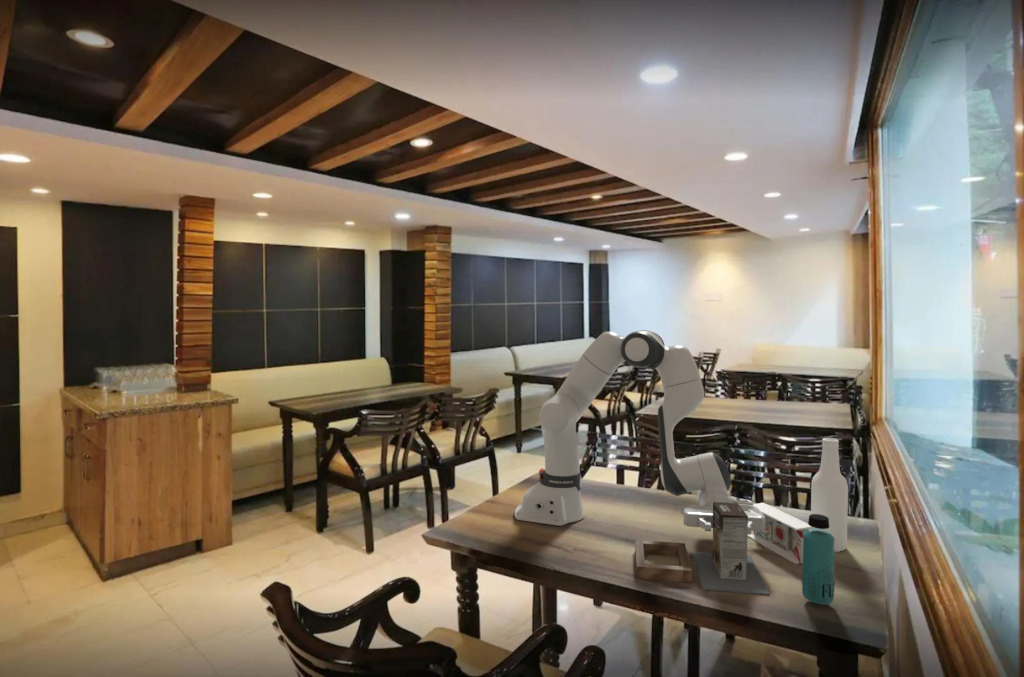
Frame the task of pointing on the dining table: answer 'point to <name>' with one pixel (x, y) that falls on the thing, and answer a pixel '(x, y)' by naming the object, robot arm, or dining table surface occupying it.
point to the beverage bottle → (818, 561)
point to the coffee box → (730, 540)
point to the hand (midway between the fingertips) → (727, 529)
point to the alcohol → (831, 493)
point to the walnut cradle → (662, 571)
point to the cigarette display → (781, 533)
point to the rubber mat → (714, 582)
